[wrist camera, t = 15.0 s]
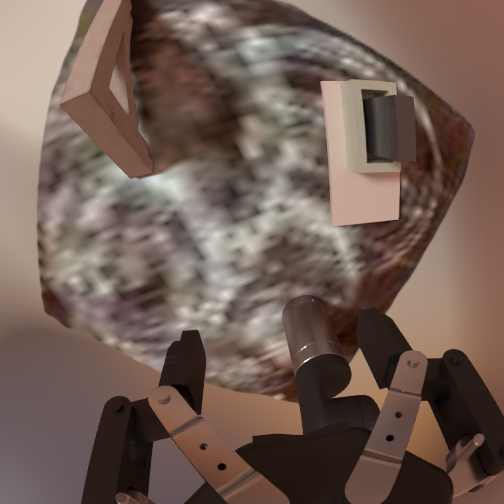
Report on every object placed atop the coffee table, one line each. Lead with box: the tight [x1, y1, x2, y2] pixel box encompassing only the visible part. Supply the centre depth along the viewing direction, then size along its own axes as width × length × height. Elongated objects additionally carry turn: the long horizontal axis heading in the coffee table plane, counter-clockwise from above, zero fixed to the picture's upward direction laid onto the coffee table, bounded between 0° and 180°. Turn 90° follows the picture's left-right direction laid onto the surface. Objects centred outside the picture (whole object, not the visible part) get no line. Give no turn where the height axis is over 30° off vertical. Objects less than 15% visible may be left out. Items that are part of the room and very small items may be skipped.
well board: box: [321, 79, 401, 227], centre depth 44 cm, size 26×14×6 cm, turn 7°
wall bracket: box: [59, 0, 153, 179], centre depth 38 cm, size 22×4×30 cm
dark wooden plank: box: [362, 95, 416, 162], centre depth 37 cm, size 9×3×14 cm, turn 6°
